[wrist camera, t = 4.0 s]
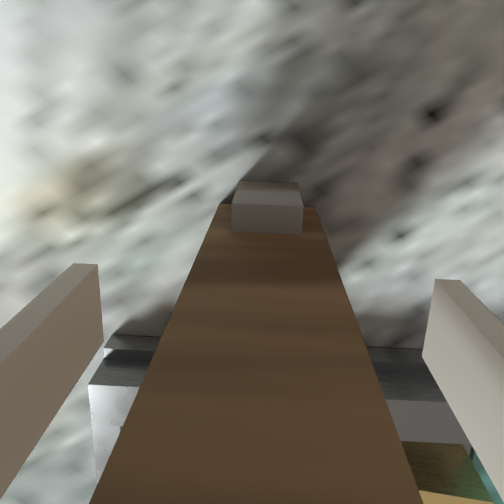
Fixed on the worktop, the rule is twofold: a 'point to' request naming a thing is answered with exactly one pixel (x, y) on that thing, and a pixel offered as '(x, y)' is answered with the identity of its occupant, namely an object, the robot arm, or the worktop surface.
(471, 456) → the tray
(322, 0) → the worktop surface
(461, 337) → the robot arm
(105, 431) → the grey shallow bin
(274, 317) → the brown long block
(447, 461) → the tan block
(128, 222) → the worktop surface
